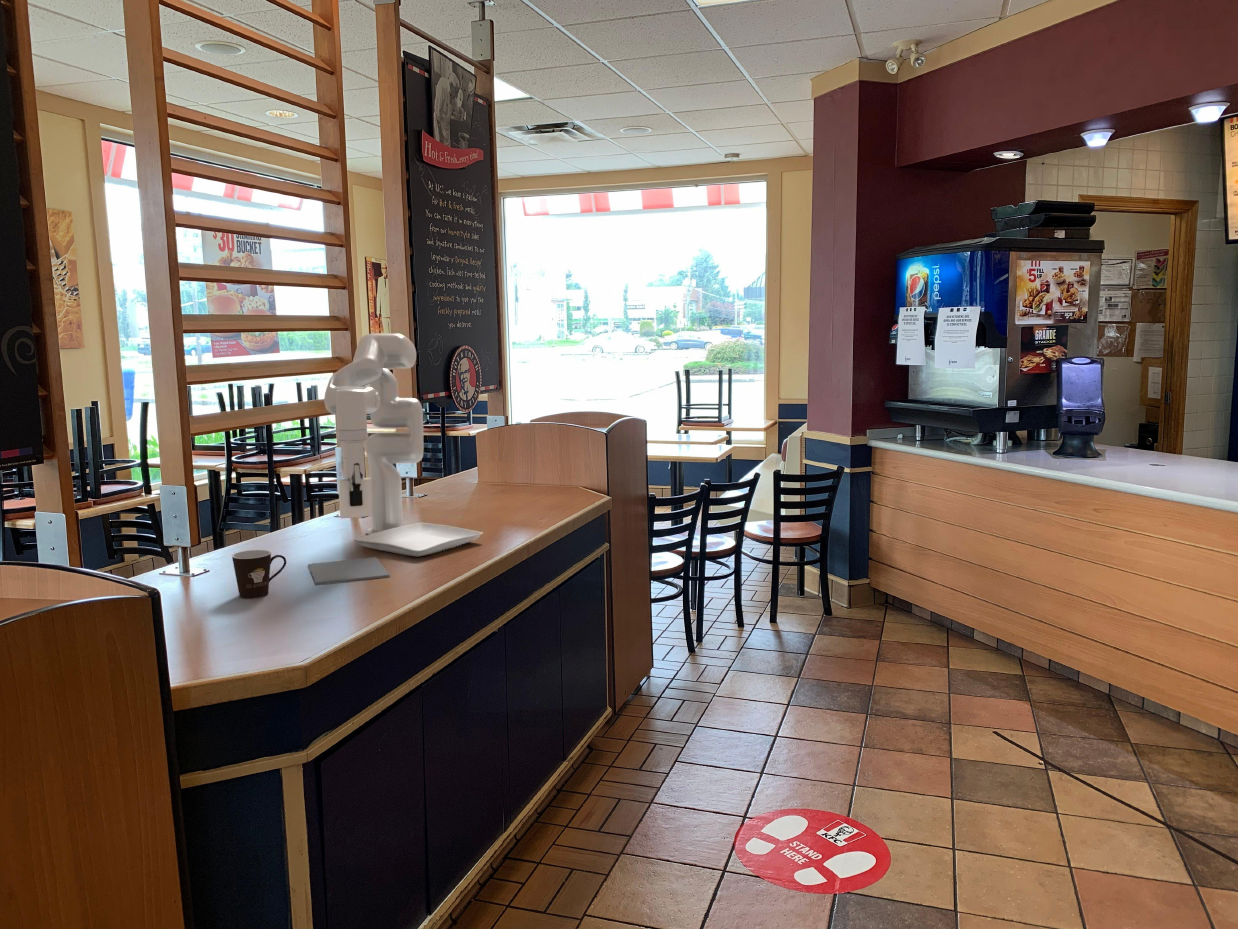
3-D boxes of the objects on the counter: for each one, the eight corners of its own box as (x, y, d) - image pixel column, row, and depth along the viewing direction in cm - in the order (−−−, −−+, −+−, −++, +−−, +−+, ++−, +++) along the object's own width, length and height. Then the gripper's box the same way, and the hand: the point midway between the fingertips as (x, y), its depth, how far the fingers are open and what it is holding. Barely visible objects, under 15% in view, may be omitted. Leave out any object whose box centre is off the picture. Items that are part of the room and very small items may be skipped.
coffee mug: (231, 601, 205) (229, 559, 203) (237, 591, 213) (234, 551, 212) (284, 597, 208) (282, 556, 206) (288, 587, 216) (286, 548, 215)
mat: (308, 566, 236) (308, 563, 236) (376, 559, 244) (376, 557, 244) (316, 584, 218) (316, 582, 218) (389, 576, 226) (389, 574, 226)
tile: (339, 516, 233) (338, 479, 232) (370, 514, 237) (369, 477, 235) (341, 518, 231) (339, 481, 230) (372, 515, 235) (371, 479, 233)
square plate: (420, 532, 279) (419, 520, 278) (485, 543, 264) (484, 531, 264) (352, 549, 257) (351, 536, 256) (418, 562, 242) (418, 549, 241)
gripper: (333, 433, 236) (336, 500, 239) (342, 439, 222) (345, 511, 225) (361, 432, 240) (364, 498, 242) (372, 438, 225) (375, 508, 228)
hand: (355, 503), depth 233 cm, fingers closed on tile, 2 cm apart
